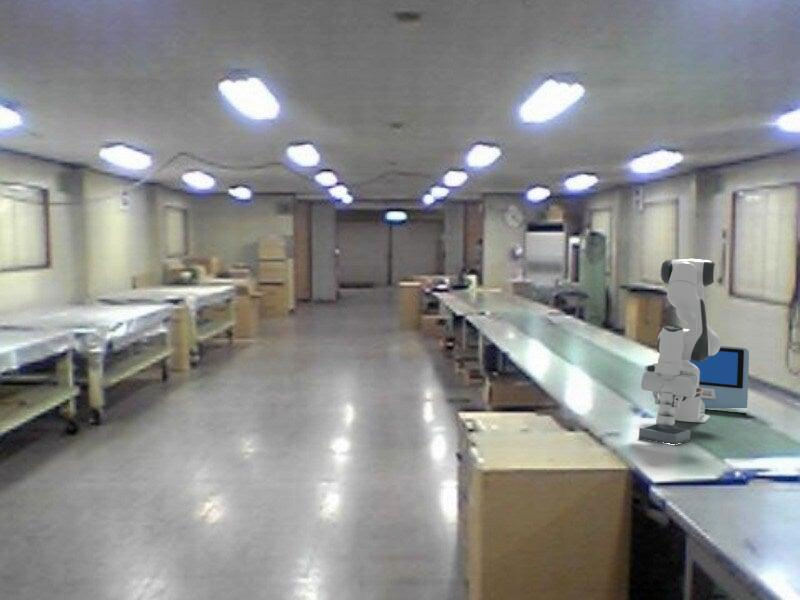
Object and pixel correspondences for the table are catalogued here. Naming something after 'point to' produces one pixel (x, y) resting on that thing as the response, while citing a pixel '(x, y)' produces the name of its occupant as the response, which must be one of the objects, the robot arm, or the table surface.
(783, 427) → the table surface
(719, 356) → the touchscreen device
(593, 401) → the table surface
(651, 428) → the box
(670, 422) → the plastic bottle
